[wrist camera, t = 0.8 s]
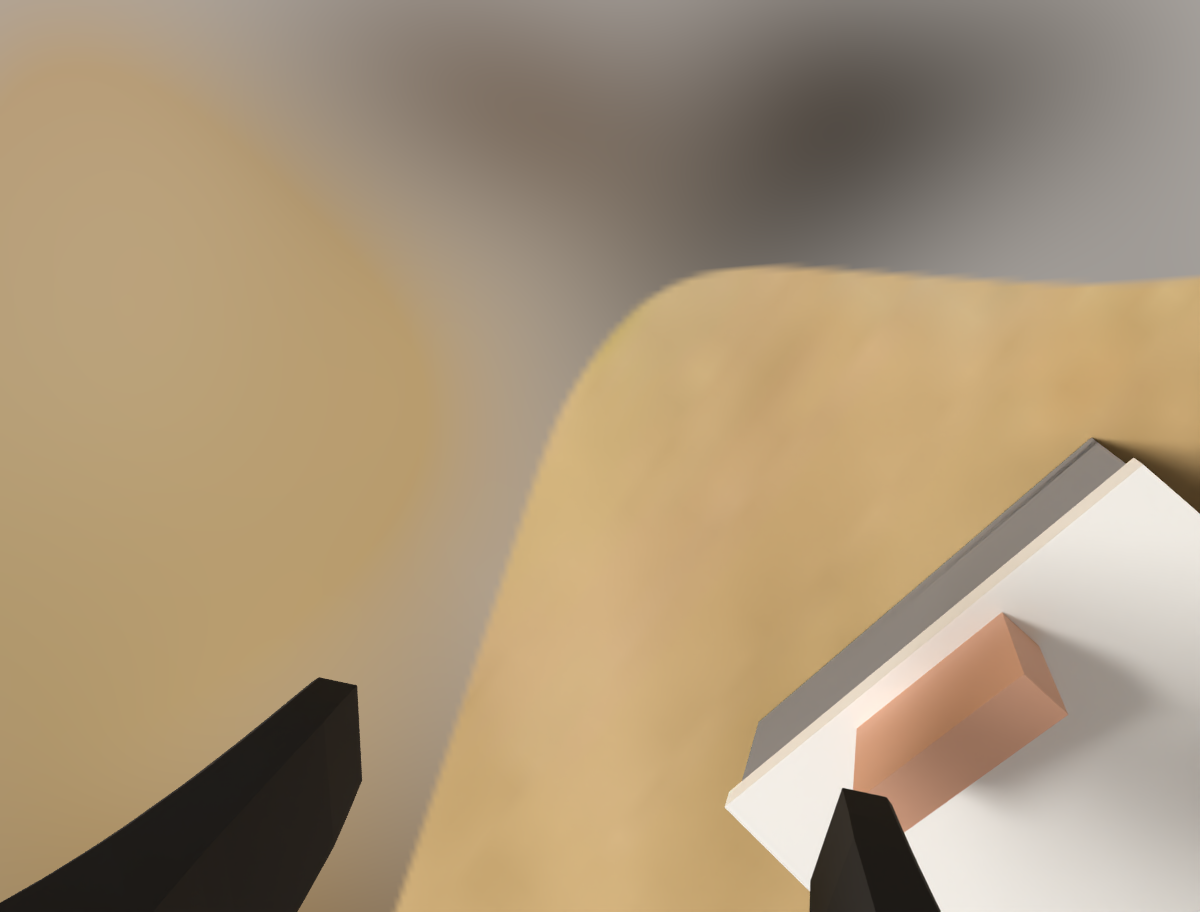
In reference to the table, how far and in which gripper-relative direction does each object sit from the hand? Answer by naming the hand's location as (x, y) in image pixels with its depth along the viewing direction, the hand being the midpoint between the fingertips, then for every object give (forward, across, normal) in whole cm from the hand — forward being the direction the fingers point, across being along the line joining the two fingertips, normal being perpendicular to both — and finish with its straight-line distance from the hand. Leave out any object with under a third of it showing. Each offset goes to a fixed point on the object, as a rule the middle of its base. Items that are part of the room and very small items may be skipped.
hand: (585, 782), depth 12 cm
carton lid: (+9, -12, +7) cm, 16 cm away
